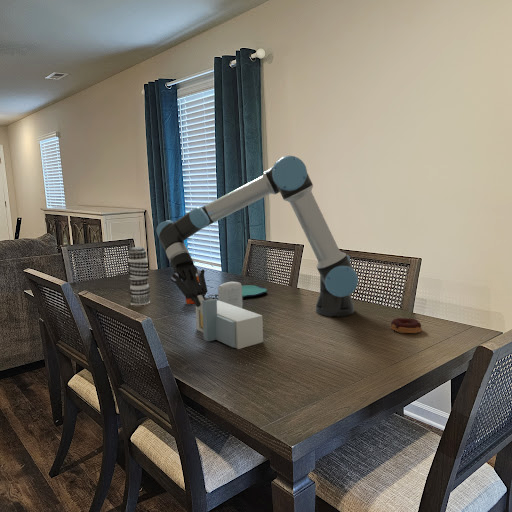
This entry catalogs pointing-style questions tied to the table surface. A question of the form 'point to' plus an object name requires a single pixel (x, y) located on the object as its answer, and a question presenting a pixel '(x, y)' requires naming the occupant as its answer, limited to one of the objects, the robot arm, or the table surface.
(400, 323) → the donut
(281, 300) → the table surface
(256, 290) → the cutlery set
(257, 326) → the white rectangular block
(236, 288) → the grey gravestone
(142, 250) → the decorative candle
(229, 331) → the side door
